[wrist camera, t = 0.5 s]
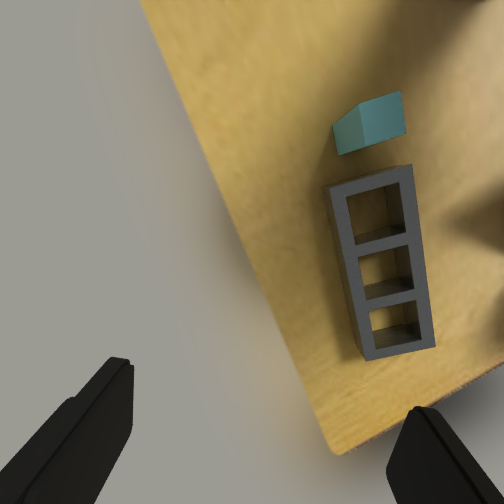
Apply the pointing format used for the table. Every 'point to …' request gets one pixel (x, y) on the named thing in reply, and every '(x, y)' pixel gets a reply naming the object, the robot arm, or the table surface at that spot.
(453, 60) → the table surface
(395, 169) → the hole rail
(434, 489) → the robot arm
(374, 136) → the square peg
